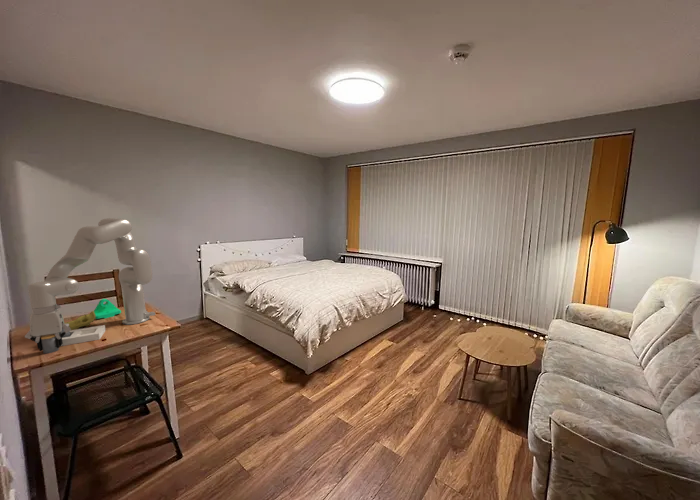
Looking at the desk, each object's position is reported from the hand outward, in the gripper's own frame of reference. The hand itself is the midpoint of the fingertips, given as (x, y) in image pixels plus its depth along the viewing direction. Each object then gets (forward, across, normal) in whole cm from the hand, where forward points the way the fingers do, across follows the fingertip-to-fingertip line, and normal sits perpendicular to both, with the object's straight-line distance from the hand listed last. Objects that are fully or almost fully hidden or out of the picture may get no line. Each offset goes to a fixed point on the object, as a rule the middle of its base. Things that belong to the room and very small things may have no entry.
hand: (50, 347), depth 128 cm
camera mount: (+2, -12, -44) cm, 45 cm away
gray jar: (+2, 0, 0) cm, 2 cm away
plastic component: (+2, 0, -28) cm, 28 cm away
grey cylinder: (+1, -2, -10) cm, 10 cm away
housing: (+2, -6, -10) cm, 12 cm away
